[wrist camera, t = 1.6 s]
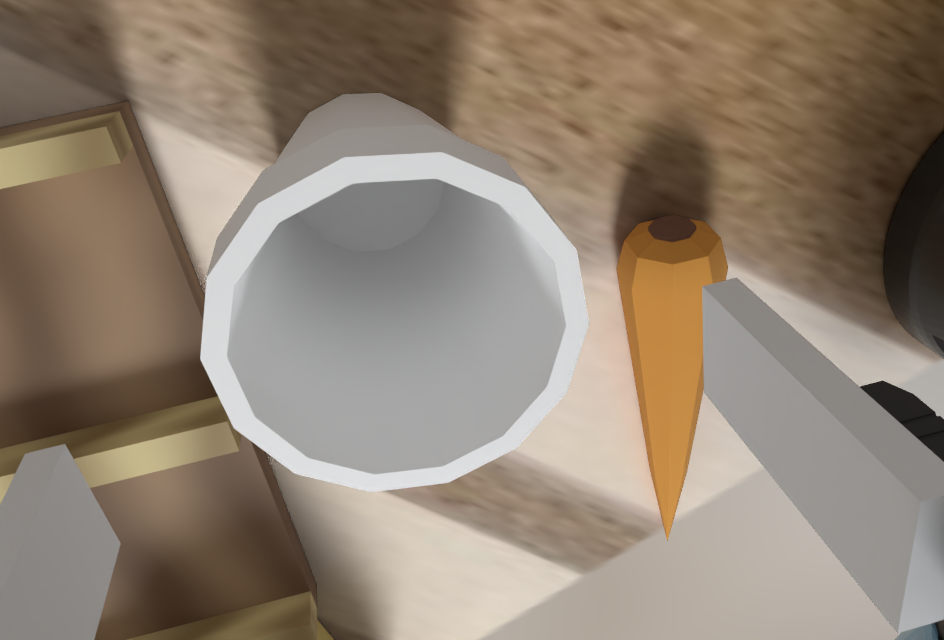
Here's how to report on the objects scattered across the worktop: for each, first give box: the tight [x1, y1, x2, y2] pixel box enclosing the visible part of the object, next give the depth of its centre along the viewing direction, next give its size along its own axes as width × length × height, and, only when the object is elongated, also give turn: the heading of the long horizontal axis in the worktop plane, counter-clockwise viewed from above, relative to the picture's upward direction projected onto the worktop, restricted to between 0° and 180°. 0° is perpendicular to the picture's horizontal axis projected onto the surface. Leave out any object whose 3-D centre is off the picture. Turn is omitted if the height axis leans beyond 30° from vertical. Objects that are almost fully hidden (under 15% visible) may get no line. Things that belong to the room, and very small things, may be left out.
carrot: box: [617, 215, 728, 540], centre depth 37 cm, size 20×4×4 cm, turn 9°
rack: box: [0, 101, 317, 640], centre depth 32 cm, size 13×25×4 cm, turn 10°
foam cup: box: [200, 93, 589, 492], centre depth 25 cm, size 10×9×13 cm
